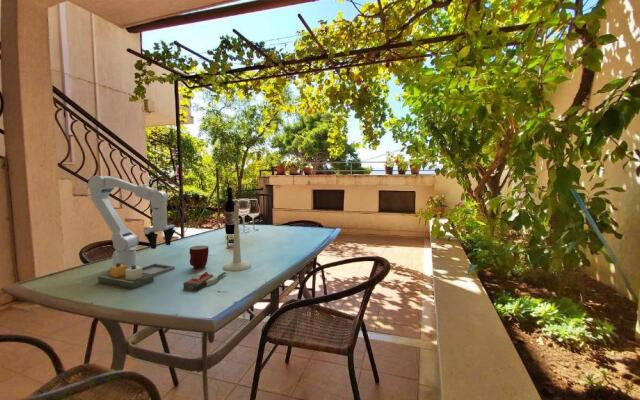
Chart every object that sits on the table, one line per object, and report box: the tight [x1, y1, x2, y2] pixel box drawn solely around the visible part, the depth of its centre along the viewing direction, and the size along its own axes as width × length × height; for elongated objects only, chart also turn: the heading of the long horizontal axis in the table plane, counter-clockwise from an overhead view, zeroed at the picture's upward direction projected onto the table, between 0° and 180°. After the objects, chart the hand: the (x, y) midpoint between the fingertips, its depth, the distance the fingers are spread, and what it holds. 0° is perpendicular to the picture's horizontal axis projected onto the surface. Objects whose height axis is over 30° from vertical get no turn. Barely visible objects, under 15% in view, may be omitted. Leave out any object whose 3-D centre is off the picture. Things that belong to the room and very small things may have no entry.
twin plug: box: [125, 265, 142, 280], centre depth 117 cm, size 4×4×7 cm
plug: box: [109, 263, 127, 277], centre depth 120 cm, size 4×4×7 cm
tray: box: [141, 263, 176, 277], centre depth 133 cm, size 12×12×2 cm
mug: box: [189, 245, 210, 270], centre depth 137 cm, size 11×8×10 cm
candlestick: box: [222, 204, 252, 272], centre depth 141 cm, size 13×13×30 cm
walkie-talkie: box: [182, 271, 226, 291], centre depth 121 cm, size 9×4×20 cm
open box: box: [97, 272, 155, 290], centre depth 119 cm, size 19×9×3 cm, turn 69°
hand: (160, 246), depth 137 cm, fingers open, 7 cm apart
